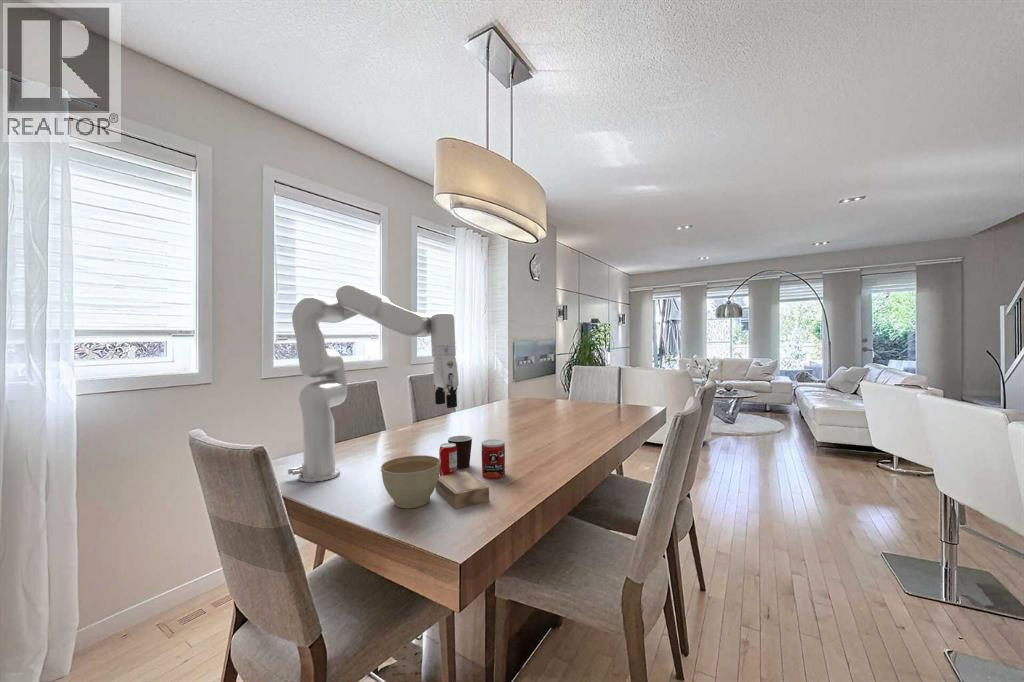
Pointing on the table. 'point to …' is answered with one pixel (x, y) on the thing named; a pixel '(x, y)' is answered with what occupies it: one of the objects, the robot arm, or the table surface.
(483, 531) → the table surface
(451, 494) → the wooden tray
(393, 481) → the planter bowl
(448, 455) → the soda can
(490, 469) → the canned food
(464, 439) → the coffee mug
